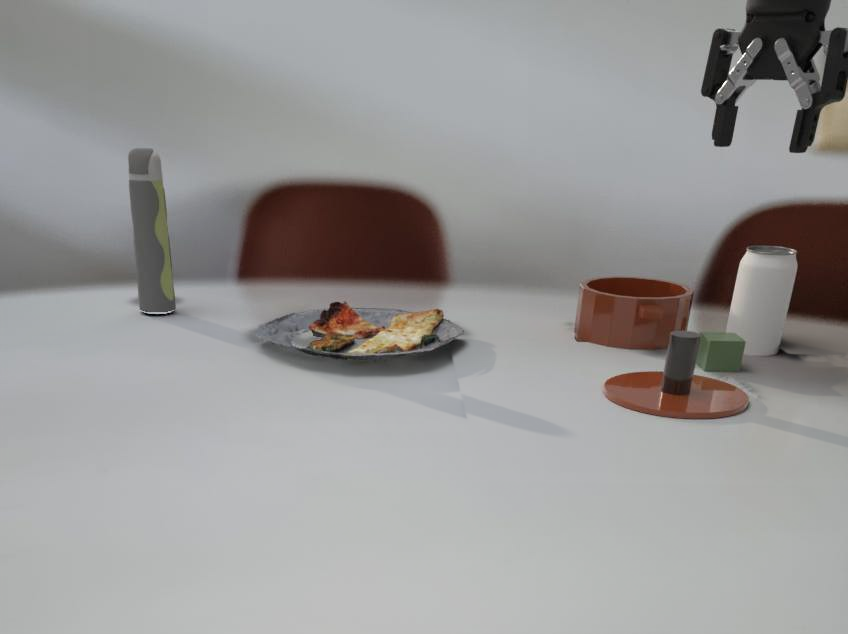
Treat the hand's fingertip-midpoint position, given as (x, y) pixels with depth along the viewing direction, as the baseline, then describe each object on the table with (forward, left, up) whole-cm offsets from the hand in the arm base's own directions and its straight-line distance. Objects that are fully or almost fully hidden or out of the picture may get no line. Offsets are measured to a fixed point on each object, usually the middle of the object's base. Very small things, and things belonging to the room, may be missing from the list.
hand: (758, 149), depth 99 cm
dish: (+6, -16, -23) cm, 29 cm away
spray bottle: (+68, -26, -23) cm, 77 cm away
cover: (+7, +10, -22) cm, 26 cm away
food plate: (+40, -10, -23) cm, 47 cm away
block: (-1, -2, -23) cm, 23 cm away
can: (-8, -11, -23) cm, 27 cm away
